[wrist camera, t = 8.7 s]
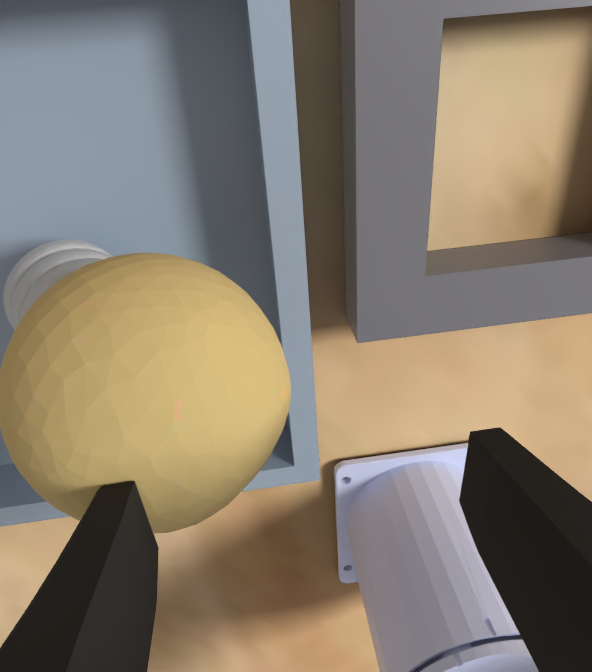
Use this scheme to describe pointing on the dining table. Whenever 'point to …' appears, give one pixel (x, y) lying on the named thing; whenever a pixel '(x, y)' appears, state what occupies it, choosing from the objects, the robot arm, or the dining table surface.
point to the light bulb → (138, 381)
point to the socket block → (428, 190)
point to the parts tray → (160, 167)
